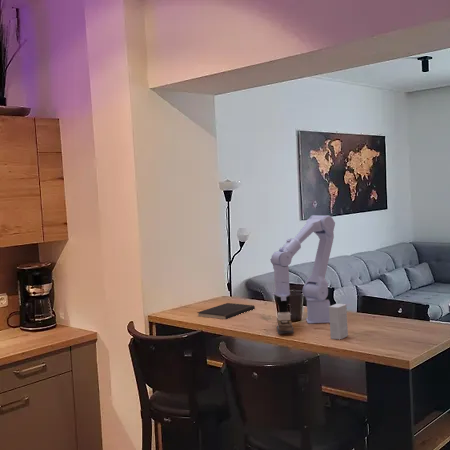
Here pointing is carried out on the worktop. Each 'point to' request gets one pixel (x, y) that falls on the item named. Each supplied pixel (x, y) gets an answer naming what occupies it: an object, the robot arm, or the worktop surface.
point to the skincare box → (338, 321)
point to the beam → (284, 327)
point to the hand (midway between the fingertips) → (283, 315)
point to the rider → (283, 316)
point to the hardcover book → (226, 311)
